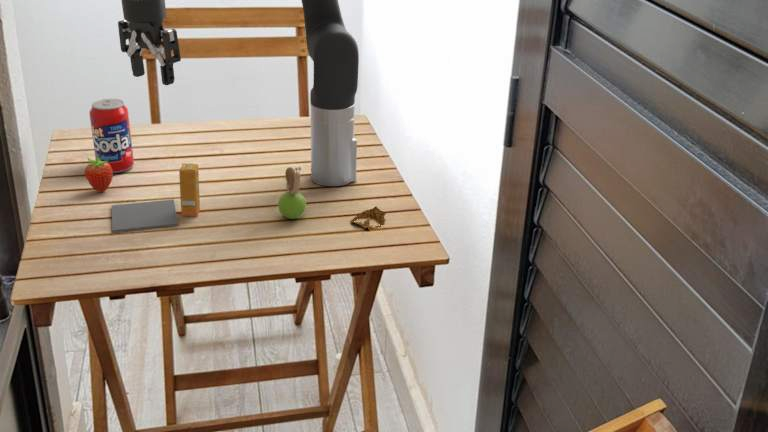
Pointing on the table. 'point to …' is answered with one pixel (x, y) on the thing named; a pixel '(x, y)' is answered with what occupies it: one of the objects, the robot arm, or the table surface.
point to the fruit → (99, 174)
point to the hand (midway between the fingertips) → (153, 79)
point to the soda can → (112, 133)
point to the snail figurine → (292, 196)
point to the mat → (143, 215)
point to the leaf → (370, 214)
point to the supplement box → (189, 189)
